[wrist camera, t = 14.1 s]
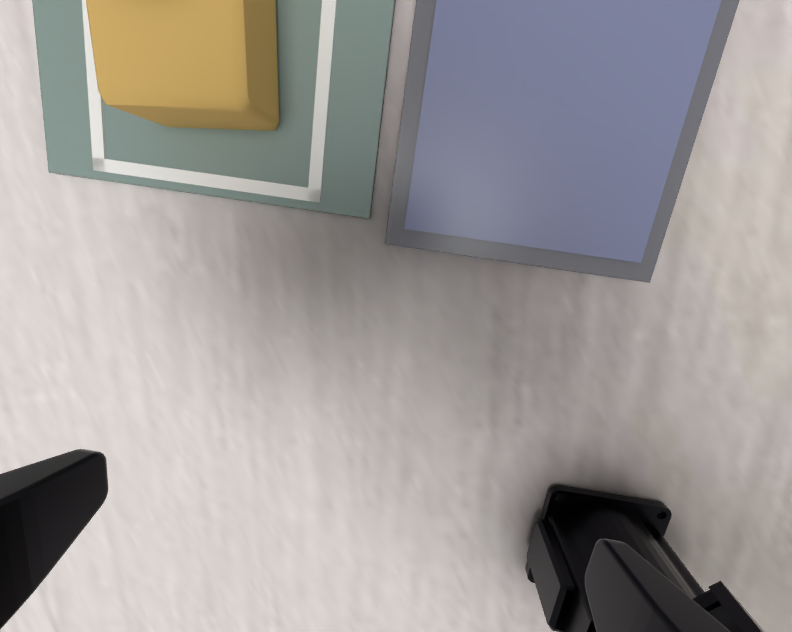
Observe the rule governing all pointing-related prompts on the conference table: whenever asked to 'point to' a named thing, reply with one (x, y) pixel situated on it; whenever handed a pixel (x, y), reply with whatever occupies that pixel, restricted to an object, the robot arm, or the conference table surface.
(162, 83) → the rubber stamp
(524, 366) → the conference table surface
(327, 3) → the marking board
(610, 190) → the ink pad
